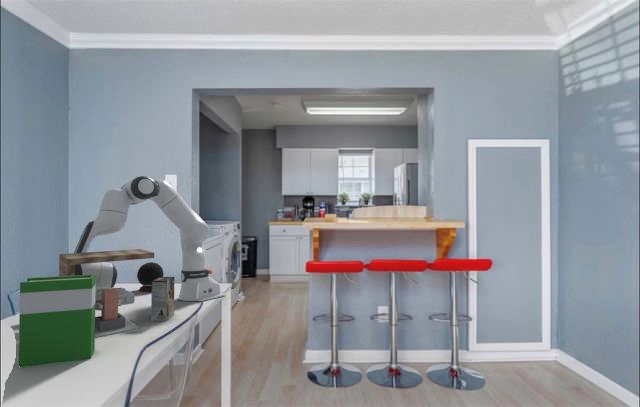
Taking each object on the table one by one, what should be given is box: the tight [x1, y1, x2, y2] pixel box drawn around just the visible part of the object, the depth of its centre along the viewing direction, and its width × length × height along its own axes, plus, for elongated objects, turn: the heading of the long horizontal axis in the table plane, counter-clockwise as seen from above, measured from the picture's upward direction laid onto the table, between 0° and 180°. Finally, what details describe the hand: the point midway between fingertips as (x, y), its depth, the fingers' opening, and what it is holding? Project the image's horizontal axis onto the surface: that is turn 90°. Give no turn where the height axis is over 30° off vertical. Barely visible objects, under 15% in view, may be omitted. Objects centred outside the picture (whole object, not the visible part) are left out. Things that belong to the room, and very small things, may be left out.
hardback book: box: [18, 275, 96, 368], centre depth 115 cm, size 18×7×24 cm, turn 113°
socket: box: [95, 312, 140, 339], centre depth 143 cm, size 16×16×4 cm
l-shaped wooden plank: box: [58, 248, 155, 276], centre depth 142 cm, size 28×16×28 cm, turn 133°
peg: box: [100, 289, 119, 321], centre depth 143 cm, size 4×4×12 cm
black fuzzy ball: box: [136, 261, 164, 293], centre depth 208 cm, size 13×13×15 cm
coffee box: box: [150, 276, 175, 322], centre depth 157 cm, size 9×6×16 cm
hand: (110, 305), depth 142 cm, fingers closed on peg, 4 cm apart
